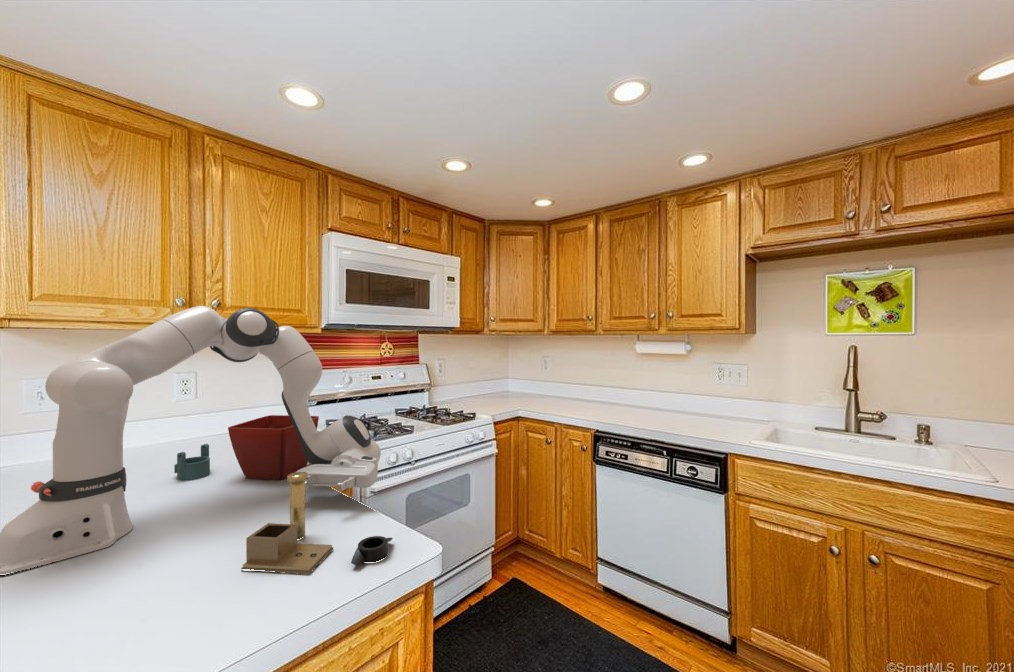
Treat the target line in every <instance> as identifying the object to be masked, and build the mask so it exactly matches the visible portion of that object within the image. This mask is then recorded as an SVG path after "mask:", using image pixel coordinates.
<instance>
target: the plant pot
mask: <svg viewBox="0 0 1014 672" xmlns="http://www.w3.org/2000/svg"><path fill="white" fill-rule="evenodd" d="M310 416H311V418H312V420H313V422H314V425H315V427H316V429H317V430H318V426H319V419H320V417H319V416H317V415H310ZM227 431H228V436H229V439H230V443H231V447H232V450H233V452H234V455H235V459H236V461H237V462H238V463H237V464H238V465H239V467H240V469H241V471H242V473H243V475H244V477H245V479H250V480H251V479H256V480H259V479H260V480H276V481H279V480H284V479H286V478H287V476H288V475H289V474H291V473H295V472H296V471H298V470H300V469H302V468H304V467H306V466H308V463H309V462H308V461H307V460H306V458H305V456H304V453H303V449H302V445H301V442H300V440H299V437H298V435H297V433H296V431H295V428H294V426H293V424H292V422H291V420H290V417H289V415H288V414H287V415H280V414H278V415H277V414H276V415H275V414H270V415H265V416H261V417H259V418H255V419H252V420H247V421H244V422H240V423H238V424H234V425H231V426H228V427H227Z"/></svg>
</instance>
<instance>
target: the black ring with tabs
mask: <svg viewBox="0 0 1014 672" xmlns="http://www.w3.org/2000/svg"><path fill="white" fill-rule="evenodd" d="M393 539H394V537H384V536H380V535H372V536H368V537H365V538H364V539H362V540H360V541H359V542H358V544H357V548H356V549H355V552H354V554H353V556H352V559H351V561H350V563H351V564H352V565H354V566H356V567H359V566H360V565H361V564H364V563H363V562H376V561H379V560H381V559H383V558H385V557H386V556H387V554H388V555H389V553H388V552H389V548H388V547H389V546H388V545H389V542H391V541H392V540H393ZM387 557H388V556H387ZM387 557H386V558H387ZM386 558H385V559H386Z"/></svg>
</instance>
